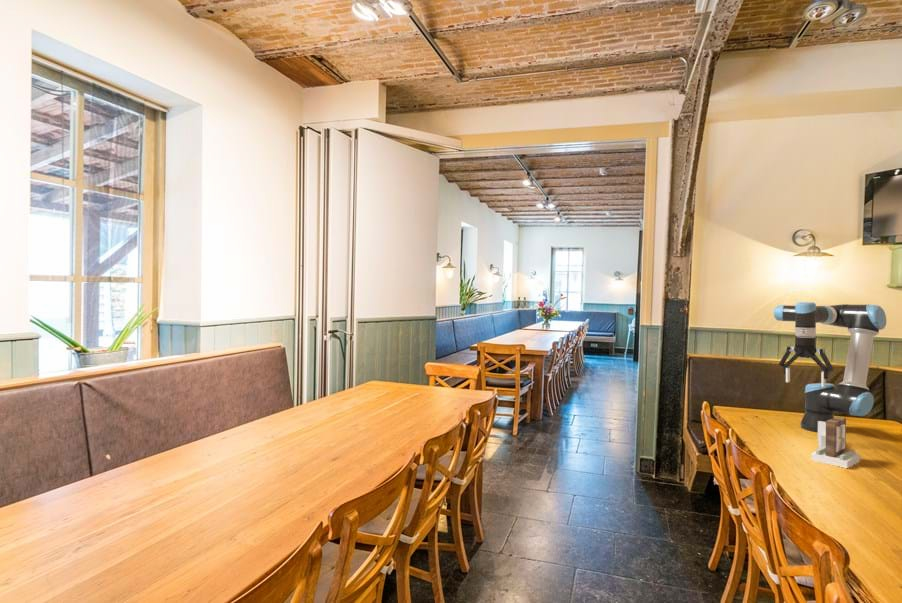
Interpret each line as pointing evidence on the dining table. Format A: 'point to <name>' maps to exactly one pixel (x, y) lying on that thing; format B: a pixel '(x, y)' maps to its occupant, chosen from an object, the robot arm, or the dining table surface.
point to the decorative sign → (821, 434)
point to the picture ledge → (836, 458)
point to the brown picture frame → (835, 437)
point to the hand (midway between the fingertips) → (805, 384)
